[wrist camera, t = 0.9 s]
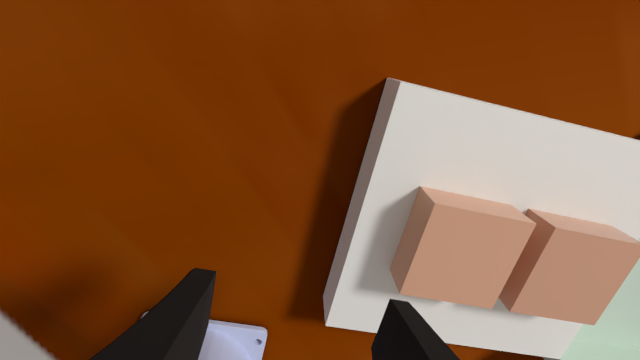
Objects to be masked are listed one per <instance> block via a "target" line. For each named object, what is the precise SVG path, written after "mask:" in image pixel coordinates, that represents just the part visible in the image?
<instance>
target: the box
mask: <svg viewBox="0 0 640 360" xmlns="http://www.w3.org/2000/svg"><path fill="white" fill-rule="evenodd" d="M638 241H639V242H640V238H639V239H638ZM543 359H544V360H640V258H639V260H638V261H637V263H636V264H635V266H634V267H633V269H632V270H631V272H630V273H629V275H628V276H627V278H626V279H625V281H624V282H623V283H622V285H621V286H620V288H619V289H618V291H617V292H616V294H615V295H614V297H613V298H612V300H611V301H610V303H609V304H608V306H607V307H606V309H605V310H604V312H603V313H602V315H601V316H600V318H599V319H598V321H597V322H596V324H595V325H588V324H583V325H582V326H581V328H580V329H579V331H578V333H577V334H576V336H575V337H574V339H573V340H572V342H571V343H570V345H569V346H568V348H567V349H566V351H565V352H564V354H563V355H562V357H561V358H560V359H554V358H547V357H543Z"/></svg>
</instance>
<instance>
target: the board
mask: <svg viewBox="0 0 640 360" xmlns="http://www.w3.org/2000/svg"><path fill="white" fill-rule="evenodd" d="M420 186H422V187H427V188H432V189H437V190H442V191H447V192H451V193H456V194H461V195H466V196H471V197H476V198H480V199H485V200H490V201H495V202H500V203H504V204H509V205H512V206H513V207H515V208H516V209H517V210H519V211H520V212H521V213H523V214H524V215H525V214H526V212H527V210H528V208H529V209H533V210H538V211H543V212H548V213H553V214H558V215H562V216H567V217H572V218H577V219H582V220H587V221H591V222H596V223H601V224H606V225H611V226H613V227H615V228H617V229H618V230H620V231H622V232H624V233H625V234H627V235H629V236H631V237H632V238H634V239H636V240H638V239H639V238H640V140H637V139H633V138H629V137H625V136H621V135H617V134H613V133H609V132H605V131H601V130H597V129H593V128H589V127H585V126H581V125H577V124H573V123H569V122H565V121H561V120H557V119H553V118H549V117H545V116H541V115H536V114H532V113H528V112H524V111H520V110H516V109H512V108H508V107H504V106H500V105H496V104H492V103H488V102H484V101H480V100H476V99H472V98H468V97H464V96H460V95H456V94H452V93H448V92H444V91H440V90H436V89H432V88H428V87H424V86H420V85H416V84H412V83H408V82H404V81H400V80H396V79H392V78H388V77H387V79H386V83H385V86H384V90H383V93H382V96H381V100H380V103H379V107H378V110H377V113H376V117H375V120H374V124H373V127H372V130H371V134H370V137H369V141H368V144H367V147H366V151H365V154H364V158H363V161H362V165H361V168H360V171H359V175H358V178H357V182H356V185H355V188H354V192H353V195H352V199H351V202H350V205H349V209H348V212H347V216H346V219H345V222H344V226H343V229H342V233H341V236H340V239H339V243H338V246H337V250H336V253H335V257H334V260H333V263H332V267H331V270H330V274H329V277H328V280H327V284H326V287H325V291H324V294H323V303H324V315H325V326H331V327H338V328H345V329H352V330H359V331H366V332H373V333H377V331H378V329H379V326H380V323H381V321H382V318H383V316H384V313H385V310H386V308H387V305H388V302H389V300H390V299H395V300H401V301H407V302H409V303H410V304H411V305H412V306H413V307H414V308H415V309H416V310H417V312H418V313H419V314H420V315H421V316H422V317H423V318H424V320H425V321H426V322H427V323H428V324H429V325H430V326H431V328H432V329H433V330H434V331H435V332H436V333H437V334H438V336H439V337H440V338H441V339H442V340H443V341H444V342H445V343H450V344H457V345H463V346H470V347H477V348H484V349H491V350H498V351H505V352H512V353H519V354H526V355H533V356H540V357H547V358H554V359H560V358H561V357H562V355H563V354H564V352H565V351H566V349H567V348H568V346H569V345H570V343H571V342H572V340H573V339H574V337H575V336H576V334H577V333H578V331H579V329H580V328H581V326H582V325H583V324H582V323H576V322H570V321H563V320H557V319H551V318H545V317H538V316H532V315H526V314H520V313H513V312H509V310H508V309H507V308H506V306H505V305H504V304H503V303H502V301H501V300H500V299H499V298H498V299H497V301H496V303H495V305H494V306H493V308H492V309H489V308H482V307H476V306H470V305H464V304H457V303H451V302H445V301H439V300H432V299H426V298H420V297H414V296H408V295H401V294H399V292H398V289H397V287H396V284H395V282H394V279H393V277H392V274H391V272H390V266H391V264H392V261H393V258H394V255H395V253H396V250H397V247H398V244H399V242H400V239H401V236H402V234H403V231H404V228H405V225H406V223H407V220H408V217H409V215H410V212H411V209H412V206H413V204H414V201H415V198H416V195H417V193H418V190H419V187H420Z"/></svg>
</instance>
